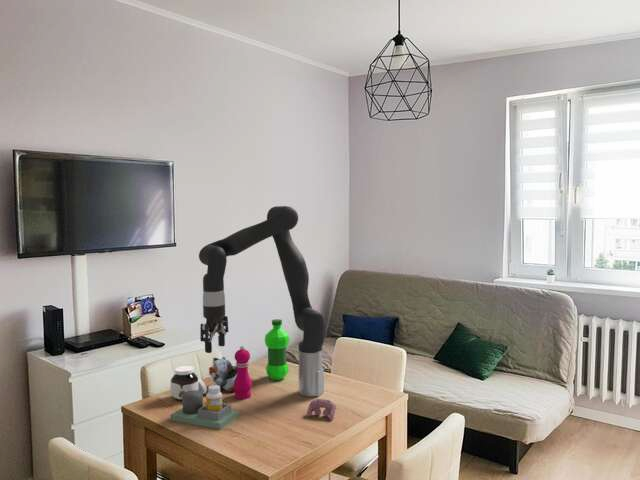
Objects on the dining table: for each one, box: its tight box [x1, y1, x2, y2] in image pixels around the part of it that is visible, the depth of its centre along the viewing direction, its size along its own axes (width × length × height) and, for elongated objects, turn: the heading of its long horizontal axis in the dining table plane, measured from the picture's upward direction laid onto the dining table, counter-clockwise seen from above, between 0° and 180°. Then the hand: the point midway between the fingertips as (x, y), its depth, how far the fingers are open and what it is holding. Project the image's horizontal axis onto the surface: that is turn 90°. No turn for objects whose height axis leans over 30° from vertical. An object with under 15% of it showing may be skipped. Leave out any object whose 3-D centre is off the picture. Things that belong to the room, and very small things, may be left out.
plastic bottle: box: [264, 318, 290, 381], centre depth 229 cm, size 10×10×25 cm
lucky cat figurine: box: [208, 356, 237, 393], centre depth 218 cm, size 15×12×14 cm
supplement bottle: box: [205, 384, 223, 412], centre depth 186 cm, size 5×5×10 cm
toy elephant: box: [306, 398, 337, 421], centre depth 190 cm, size 10×5×7 cm, turn 72°
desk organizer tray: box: [170, 390, 240, 430], centre depth 188 cm, size 20×12×8 cm, turn 68°
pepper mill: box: [233, 345, 253, 400], centre depth 208 cm, size 7×7×20 cm
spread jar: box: [170, 365, 208, 402], centre depth 208 cm, size 12×11×12 cm
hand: (215, 349), depth 187 cm, fingers open, 8 cm apart
